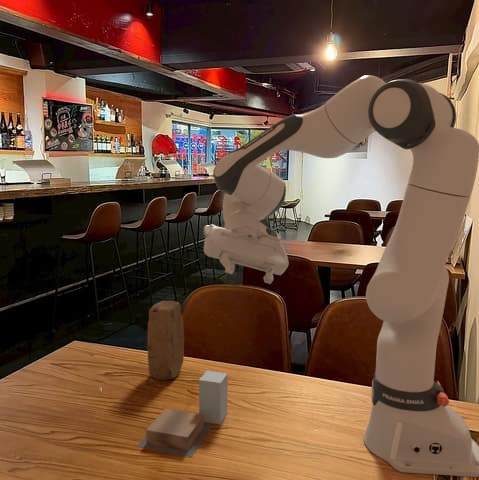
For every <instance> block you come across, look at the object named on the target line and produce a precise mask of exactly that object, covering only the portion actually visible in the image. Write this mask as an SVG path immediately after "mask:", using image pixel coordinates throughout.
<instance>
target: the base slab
mask: <svg viewBox="0 0 479 480" xmlns="http://www.w3.org/2000/svg"><path fill="white" fill-rule="evenodd" d="M204 424H205V423H204V415H202V414H199V413H197V412H196V413H195V412H188V411H184V410H183V411H182V410H178V409H177V410H176V409H171V408H164V410H162V412H160V414H159V415H158V416H157V417H156V418H155V419H154V421H153V422H152V423H151V424H150V425H149V426H148V427H147V429H146V430H145V433H146V435H145V436H146V442H147V444H151V445H157V446H162V447H167V448H173V449H178V450H183V451H188V450H189V449H190V447H191V446H192V444H193V443H194V441H195V440H196V438H197V437H198V435H199V434H200V432H201V431H202V429H203V428H204Z"/></svg>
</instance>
